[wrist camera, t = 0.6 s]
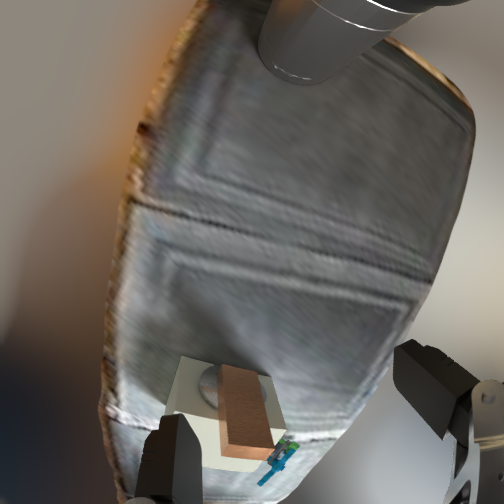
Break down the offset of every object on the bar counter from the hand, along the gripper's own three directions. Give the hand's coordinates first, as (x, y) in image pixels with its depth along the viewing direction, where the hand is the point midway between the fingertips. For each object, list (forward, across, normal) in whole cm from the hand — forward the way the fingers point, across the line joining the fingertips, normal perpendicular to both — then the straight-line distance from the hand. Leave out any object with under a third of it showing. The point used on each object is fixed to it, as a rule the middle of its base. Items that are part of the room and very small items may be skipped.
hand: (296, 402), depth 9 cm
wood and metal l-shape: (+21, +6, +14) cm, 26 cm away
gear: (+24, +3, +34) cm, 42 cm away
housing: (+23, +8, +17) cm, 30 cm away
